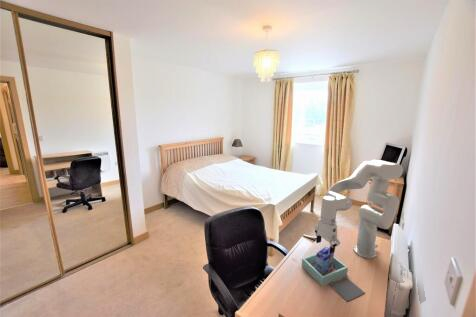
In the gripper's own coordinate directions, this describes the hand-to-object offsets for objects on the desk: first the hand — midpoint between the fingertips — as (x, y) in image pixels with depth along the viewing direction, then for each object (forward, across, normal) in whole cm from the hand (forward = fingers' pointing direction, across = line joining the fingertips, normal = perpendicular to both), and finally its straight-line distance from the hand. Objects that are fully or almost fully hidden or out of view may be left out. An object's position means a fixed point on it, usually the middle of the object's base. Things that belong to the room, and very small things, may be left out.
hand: (324, 247), depth 116 cm
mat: (+15, -14, -2) cm, 21 cm away
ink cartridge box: (+15, 0, -1) cm, 15 cm away
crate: (+15, 0, -1) cm, 15 cm away
